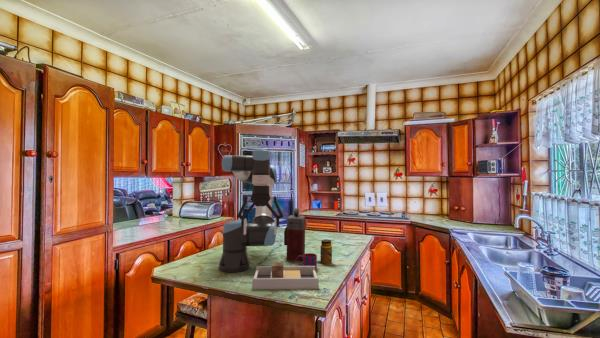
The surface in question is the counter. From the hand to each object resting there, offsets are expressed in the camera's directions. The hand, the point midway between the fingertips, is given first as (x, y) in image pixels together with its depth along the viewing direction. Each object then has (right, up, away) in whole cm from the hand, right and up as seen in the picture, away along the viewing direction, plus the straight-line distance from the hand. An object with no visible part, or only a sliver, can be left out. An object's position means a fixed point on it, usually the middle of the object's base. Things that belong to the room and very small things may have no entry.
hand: (260, 234), depth 121 cm
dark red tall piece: (+14, -22, +33) cm, 42 cm away
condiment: (+30, -22, +26) cm, 45 cm away
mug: (+21, -21, +17) cm, 34 cm away
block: (+8, -18, 0) cm, 20 cm away
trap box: (+11, -21, 0) cm, 23 cm away
